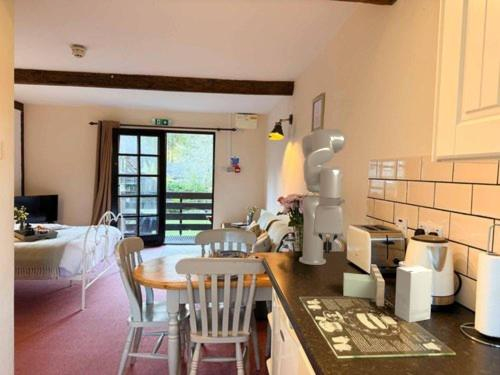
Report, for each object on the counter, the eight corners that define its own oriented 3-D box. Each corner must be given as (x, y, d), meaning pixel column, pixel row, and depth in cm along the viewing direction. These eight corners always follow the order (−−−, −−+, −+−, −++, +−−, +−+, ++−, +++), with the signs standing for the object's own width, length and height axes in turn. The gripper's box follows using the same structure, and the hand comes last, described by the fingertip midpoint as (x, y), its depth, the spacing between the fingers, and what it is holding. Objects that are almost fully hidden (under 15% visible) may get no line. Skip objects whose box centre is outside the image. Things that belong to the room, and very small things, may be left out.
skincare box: (415, 312, 108) (417, 264, 107) (431, 320, 102) (434, 269, 102) (393, 315, 105) (395, 266, 104) (408, 323, 99) (411, 271, 99)
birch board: (369, 285, 134) (370, 264, 133) (375, 285, 133) (376, 264, 133) (376, 305, 112) (378, 281, 112) (383, 306, 112) (384, 281, 112)
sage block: (343, 288, 129) (343, 272, 129) (371, 291, 127) (372, 275, 126) (343, 296, 121) (344, 278, 121) (374, 299, 119) (375, 281, 119)
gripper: (350, 201, 128) (348, 251, 129) (309, 199, 131) (307, 248, 133) (351, 204, 120) (349, 257, 122) (307, 202, 124) (305, 253, 125)
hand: (327, 252), depth 127 cm, fingers closed
